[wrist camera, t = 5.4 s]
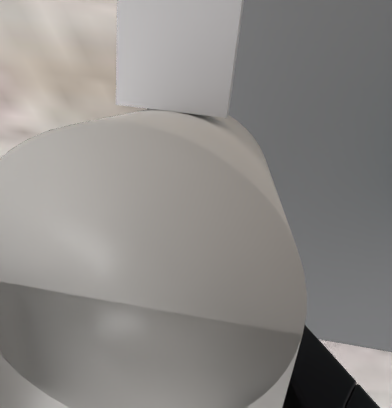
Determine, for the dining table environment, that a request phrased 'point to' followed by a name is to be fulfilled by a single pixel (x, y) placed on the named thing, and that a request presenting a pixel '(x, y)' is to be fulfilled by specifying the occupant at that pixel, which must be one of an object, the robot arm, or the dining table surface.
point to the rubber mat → (327, 149)
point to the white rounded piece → (150, 238)
